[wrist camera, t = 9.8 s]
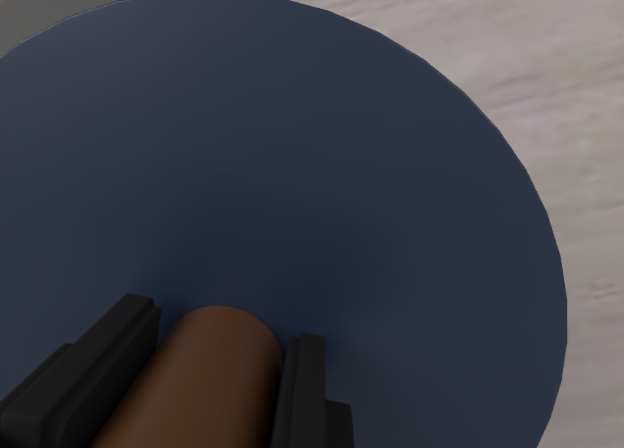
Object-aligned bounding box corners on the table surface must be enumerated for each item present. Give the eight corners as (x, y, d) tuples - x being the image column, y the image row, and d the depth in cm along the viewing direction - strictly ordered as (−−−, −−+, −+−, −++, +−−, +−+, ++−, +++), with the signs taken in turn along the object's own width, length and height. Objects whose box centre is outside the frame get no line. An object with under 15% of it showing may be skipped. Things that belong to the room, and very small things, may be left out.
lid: (509, -80, 9) (964, -530, 3) (565, 529, 13) (803, 956, 6) (-183, 91, 10) (-1020, 77, 4) (56, 597, 14) (-168, 1008, 8)
